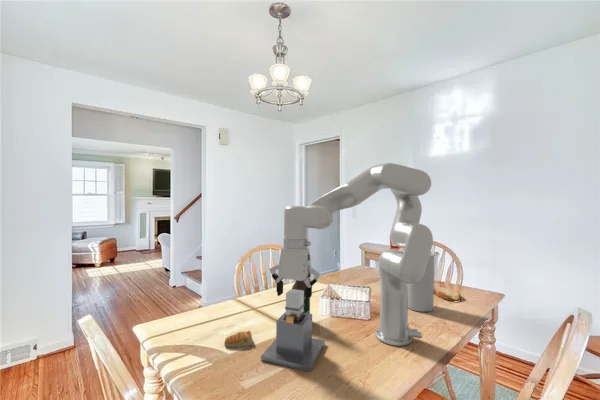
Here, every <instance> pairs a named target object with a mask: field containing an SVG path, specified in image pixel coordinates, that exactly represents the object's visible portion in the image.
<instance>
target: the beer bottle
mask: <svg viewBox="0 0 600 400" xmlns="http://www.w3.org/2000/svg"><path fill="white" fill-rule="evenodd" d="M294 281H295V282H294V283H293V285H292V286H291V289H296V290H303V291H304V304H305V305H304V313H309V314H311V313H310V312H311V307H310V306H311V297H310V298H309V299H308V300H305V291H306V287H307V285H306V284H305V282H304V281H298V280H294Z"/></svg>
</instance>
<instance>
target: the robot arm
mask: <svg viewBox="0 0 600 400" xmlns="http://www.w3.org/2000/svg"><path fill="white" fill-rule="evenodd" d="M431 187H432V179H431V177H430V175H429V174H428V173H427V172H425V171H424V170H421V169H417V168H413V167H410V166H405V165H402V164H398V163H392V162H386V163H381V164H375V165H373V166H370V167H369V168H367V169H366V170H364V171H362V172H361V173H359V174H358V175H357V176H355V177H353V178H352V179H350V180H349V181H347V182H346V183H344V184H342V185H340V186H338V187H336V188H335V189H333V190H331V191H329V192H327V193H326V194H323V195H322V196H320V197H318V198H317V199H316V200H314V201H313V202H311V203H309V204H308V205H306V206H304V205H303V206H302V205H287V206H285V208H284V213H283V215H284V216H283V217H284V218H283V246H282V247H281V249H280V255H279V260H278V264H276V265H274V266H273V267H270V268H269V271H270V274H271V278H272V279H273V280H274V283H276V290H275V291H276V293H277V297H280V296H281V295H283V294H284V281H283V279H284V280H292V281H296V280H298V281H304V282H305V284H306V285H307V287H306V291H305V300H308V299H309V298H310V299H311V298H312V295H313V286H314V285H315V284H316V283H317V282H318V280H319V279H320V277H321V273H320V272H319V271H317V270H316V269H314V268H313V267H312V262H311V261H312V260H311V253H310V248H308V247H310V246H311V245H312V242H311V241H309V240H308V237H307V236H308V229H315V230H325V229H327V228H329V227H330V226H331V225H332V223H333V222H334V215H333V214H334V213H336V212H339V211H341V210H345V209H350V208H354V207H356V206H358V205H360V204H362V203H363V202H365V201H366V200H367V199H369V198H370V197H371V196H373V195H375V194H376V193H378V192H379V191H382V190H384V189H390V191H391V194H393V195H394V197H395V200H396V203H397V204H396V205H397V207H396V208H397V209H396V212H395V216H394V219H393V223H392V226H391V229H390V233H389V240H390V241H391V243H392V244H393V245H394V246H396V247H398V248H402V249H403V251H401V250H398V249H392V248H391V249H385V250H384V251H383V252H382V253H380V255H379V257H378V262H377V265H378V267H377V268H378V273H379V279H380V280H379V281H380V283H379V284H380V294H379V295H380V296H379V297H380V299H379V300H380V306H379V307H380V308H379V309H380V310H379V327H378V328H376V330H375V337H376V338H377V340H379V341H381V342H382V343H385V344H388V345H391V346H397V347H398V346H399V347H402V346H407V345H409V344H412V342H413V337H414V338H417V339H422V337H423V336H422V335H423V334H422V332H421V331H418V329H417V328H411V327H409V325H410V324H409V321H408V319H409V317H408V316H409V308H408V285H407V284H416V283H418V282H419V281H420V280H421V279H422V277H423V275H424V273H425V270H426V267H427V263H428V260H429V256H430V253H432V249H433V244H434V236H433V233H432V231H431V228H429V227H428V226H427V225H425V224H423V223H420V221H421V216H422V203H421V200H420V198H419V196H423V195H425V194H426V193H428V192H429V191H430V190H431ZM277 270H278V271H277ZM276 271H277V272H278V273H277V272H276ZM311 276H314V277H313V279H311Z"/></svg>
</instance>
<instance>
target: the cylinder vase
mask: <svg viewBox="0 0 600 400" xmlns="http://www.w3.org/2000/svg"><path fill="white" fill-rule="evenodd" d="M434 281H435V254H434V253H432V252H431V253H430V256H429V260H428V263H427V267H426V270H425V273H424V275H423V277H422V279H421V280H420V281H419V282H418V283H416V284H407V285H408V310H410V311H411V310H412V311H415V312H421V313H425V312H426V313H427V312H432V311H433V309H434V297H435V296H434V286H435V285H434V284H435V282H434Z"/></svg>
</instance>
